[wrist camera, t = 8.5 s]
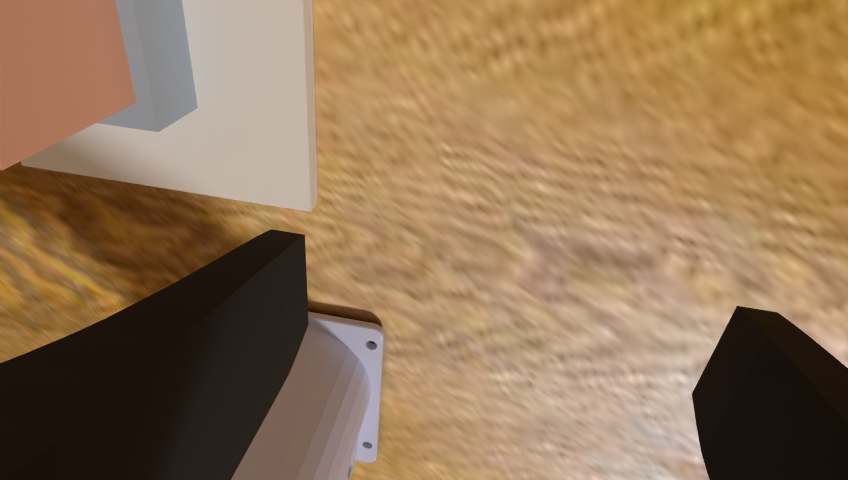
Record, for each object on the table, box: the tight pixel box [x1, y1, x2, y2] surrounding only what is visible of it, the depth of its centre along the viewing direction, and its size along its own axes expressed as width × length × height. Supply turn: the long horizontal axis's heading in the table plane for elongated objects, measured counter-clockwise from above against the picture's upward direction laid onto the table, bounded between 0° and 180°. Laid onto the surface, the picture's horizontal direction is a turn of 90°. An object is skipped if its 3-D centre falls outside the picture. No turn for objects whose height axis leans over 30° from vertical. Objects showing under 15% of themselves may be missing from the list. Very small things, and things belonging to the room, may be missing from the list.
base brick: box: [97, 0, 198, 132], centre depth 17 cm, size 6×6×2 cm
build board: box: [21, 0, 318, 212], centre depth 18 cm, size 11×12×1 cm
